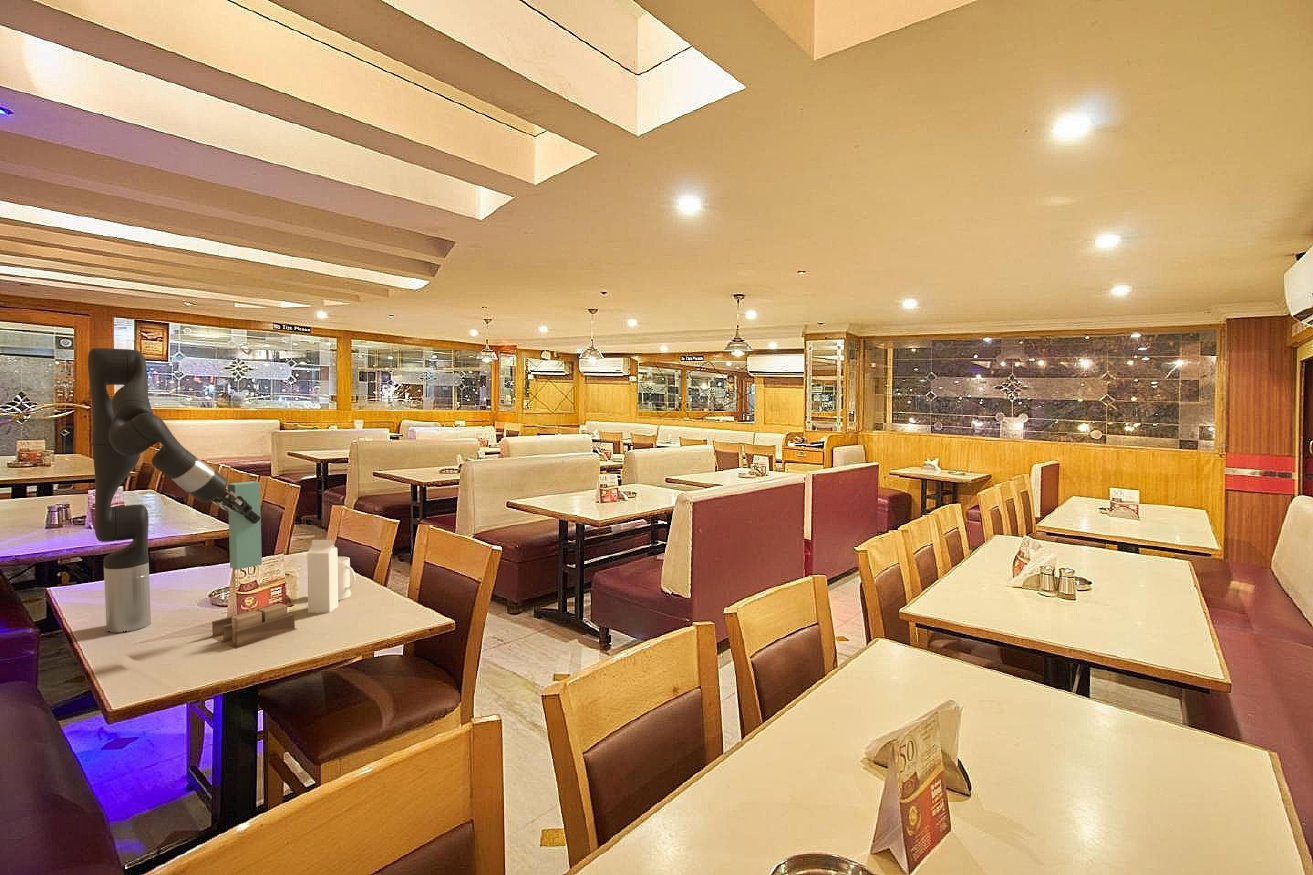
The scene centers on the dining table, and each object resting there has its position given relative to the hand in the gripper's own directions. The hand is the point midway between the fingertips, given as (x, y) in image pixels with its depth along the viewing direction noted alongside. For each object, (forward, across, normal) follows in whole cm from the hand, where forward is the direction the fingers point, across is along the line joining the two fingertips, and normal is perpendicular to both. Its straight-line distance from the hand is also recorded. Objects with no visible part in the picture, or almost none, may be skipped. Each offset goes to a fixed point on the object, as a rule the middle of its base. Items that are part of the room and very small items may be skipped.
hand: (253, 519), depth 162 cm
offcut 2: (+22, -6, +20) cm, 30 cm away
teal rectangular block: (+7, 0, +10) cm, 12 cm away
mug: (+43, +8, +1) cm, 44 cm away
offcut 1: (+17, -6, +24) cm, 30 cm away
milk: (+35, -1, +9) cm, 36 cm away
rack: (+21, -4, +23) cm, 31 cm away
